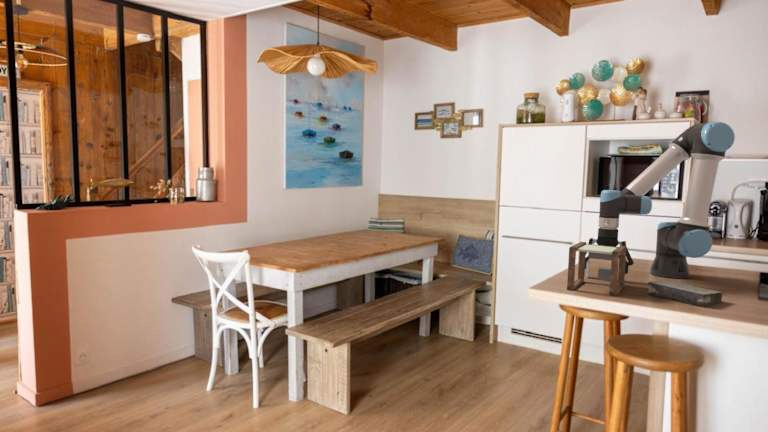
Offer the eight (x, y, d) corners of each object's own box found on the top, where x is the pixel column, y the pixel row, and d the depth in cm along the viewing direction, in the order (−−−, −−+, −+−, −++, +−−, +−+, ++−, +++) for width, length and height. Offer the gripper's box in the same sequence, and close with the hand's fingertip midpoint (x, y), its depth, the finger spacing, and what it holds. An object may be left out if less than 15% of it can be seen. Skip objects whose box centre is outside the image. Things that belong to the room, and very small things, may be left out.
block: (702, 308, 175) (704, 293, 175) (646, 295, 192) (647, 281, 191) (723, 303, 183) (724, 289, 182) (667, 291, 199) (668, 278, 199)
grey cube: (613, 279, 217) (613, 267, 216) (610, 281, 213) (611, 269, 212) (600, 278, 220) (601, 266, 219) (597, 280, 215) (598, 268, 215)
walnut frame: (623, 286, 204) (626, 245, 202) (615, 296, 188) (618, 252, 186) (578, 280, 213) (580, 241, 211) (567, 289, 197) (569, 247, 195)
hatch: (620, 258, 208) (621, 244, 207) (611, 267, 190) (612, 251, 190) (588, 255, 214) (589, 242, 214) (576, 263, 197) (577, 248, 196)
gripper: (574, 226, 218) (571, 276, 220) (640, 231, 204) (636, 285, 206) (578, 224, 224) (575, 273, 226) (643, 229, 211) (639, 282, 213)
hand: (604, 279), depth 216 cm, fingers open, 13 cm apart
